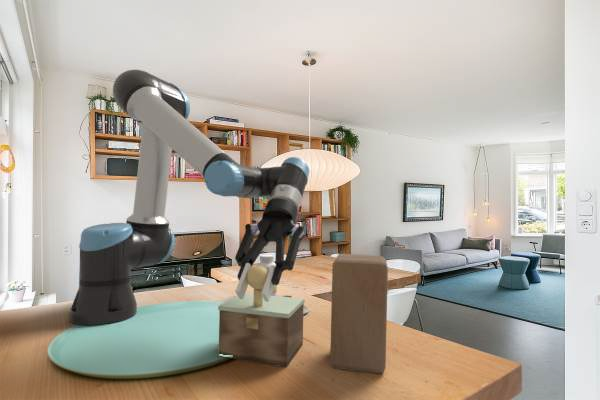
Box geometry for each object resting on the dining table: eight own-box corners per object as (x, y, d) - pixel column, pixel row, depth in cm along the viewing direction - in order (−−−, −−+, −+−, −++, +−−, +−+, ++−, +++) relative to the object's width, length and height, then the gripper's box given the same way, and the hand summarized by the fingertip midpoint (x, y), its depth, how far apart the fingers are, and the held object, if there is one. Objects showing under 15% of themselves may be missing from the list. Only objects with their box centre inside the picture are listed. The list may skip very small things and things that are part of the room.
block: (385, 376, 64) (388, 263, 64) (329, 369, 66) (332, 260, 66) (383, 353, 73) (386, 255, 73) (335, 348, 75) (337, 252, 75)
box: (217, 356, 70) (219, 310, 70) (242, 336, 80) (243, 296, 80) (286, 367, 66) (287, 318, 66) (302, 344, 77) (303, 302, 77)
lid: (218, 309, 70) (219, 265, 70) (242, 295, 81) (243, 257, 81) (288, 318, 66) (289, 270, 66) (304, 302, 77) (305, 261, 77)
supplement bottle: (270, 291, 121) (271, 253, 121) (280, 296, 116) (281, 256, 116) (252, 293, 118) (253, 254, 118) (261, 298, 112) (262, 257, 112)
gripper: (243, 195, 83) (203, 281, 67) (317, 197, 78) (293, 290, 63) (251, 217, 88) (216, 302, 72) (321, 220, 84) (300, 311, 68)
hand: (252, 296), depth 68 cm, fingers closed on lid, 5 cm apart
